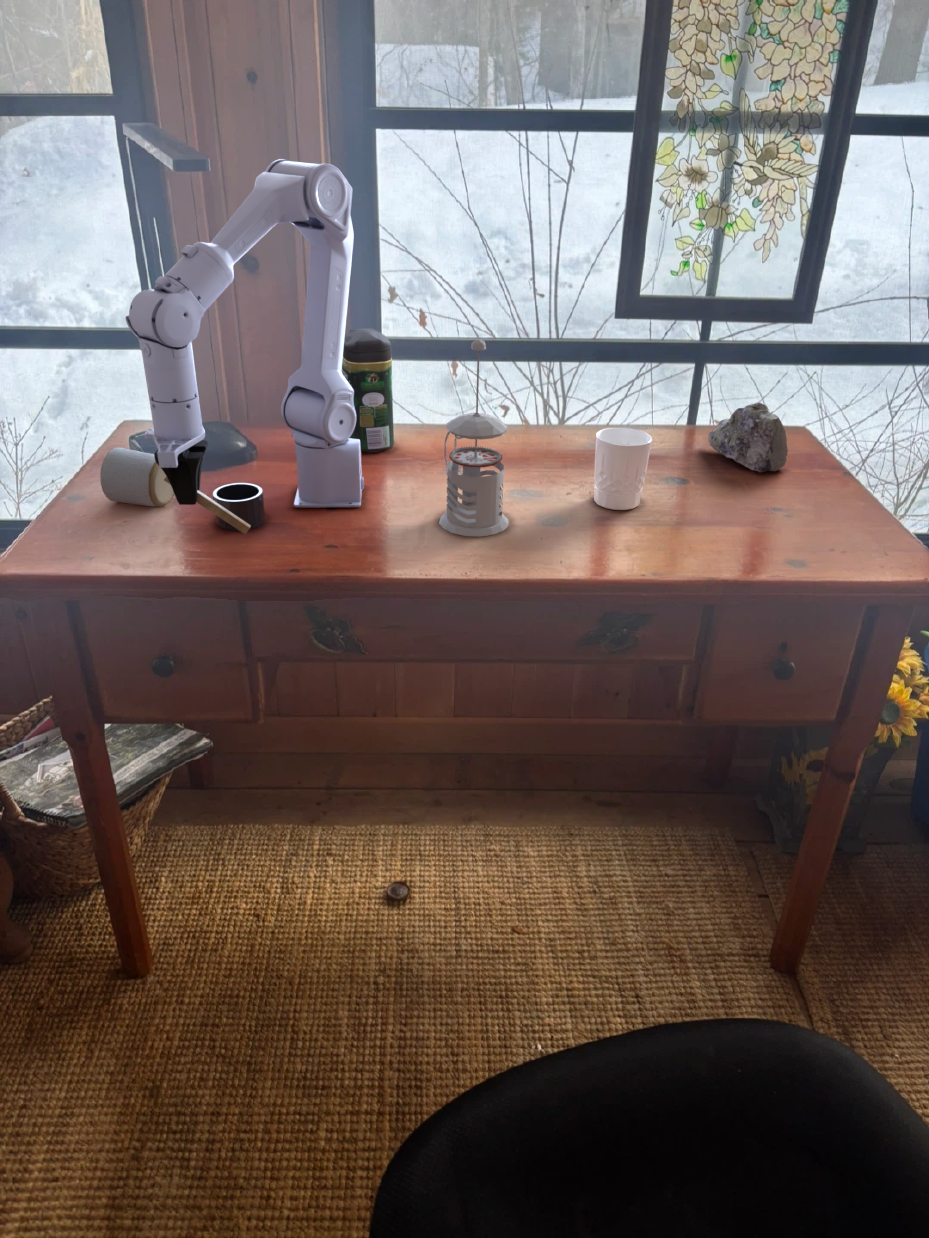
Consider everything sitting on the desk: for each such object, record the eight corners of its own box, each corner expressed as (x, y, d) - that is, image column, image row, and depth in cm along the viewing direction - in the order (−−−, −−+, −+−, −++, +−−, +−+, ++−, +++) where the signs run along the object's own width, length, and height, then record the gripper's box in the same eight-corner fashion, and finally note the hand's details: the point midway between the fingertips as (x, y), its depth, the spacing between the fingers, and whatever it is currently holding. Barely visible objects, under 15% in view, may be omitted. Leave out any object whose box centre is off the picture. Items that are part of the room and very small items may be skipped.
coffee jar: (342, 436, 157) (336, 325, 148) (388, 433, 159) (385, 324, 149) (349, 455, 149) (344, 340, 139) (397, 452, 151) (395, 338, 141)
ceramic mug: (156, 515, 127) (148, 463, 123) (103, 509, 128) (94, 456, 125) (193, 489, 136) (187, 439, 132) (143, 483, 137) (135, 433, 134)
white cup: (649, 497, 136) (658, 432, 131) (635, 516, 130) (643, 449, 125) (599, 487, 139) (605, 424, 134) (582, 506, 133) (588, 440, 128)
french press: (462, 542, 122) (466, 353, 109) (419, 511, 130) (418, 332, 117) (523, 527, 126) (533, 343, 113) (477, 498, 135) (482, 324, 122)
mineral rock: (703, 446, 156) (712, 388, 151) (765, 447, 156) (777, 389, 151) (722, 473, 145) (733, 412, 140) (789, 475, 145) (802, 413, 140)
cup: (268, 511, 129) (265, 482, 127) (262, 530, 123) (259, 501, 121) (220, 511, 129) (217, 483, 127) (212, 531, 123) (208, 501, 121)
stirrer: (251, 531, 119) (246, 472, 115) (250, 534, 119) (245, 474, 114) (172, 531, 119) (164, 471, 114) (170, 533, 118) (162, 473, 114)
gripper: (153, 379, 115) (169, 480, 122) (123, 415, 103) (142, 525, 110) (210, 379, 116) (222, 480, 123) (187, 415, 103) (202, 524, 110)
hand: (188, 501), depth 116 cm, fingers closed on stirrer, 1 cm apart
